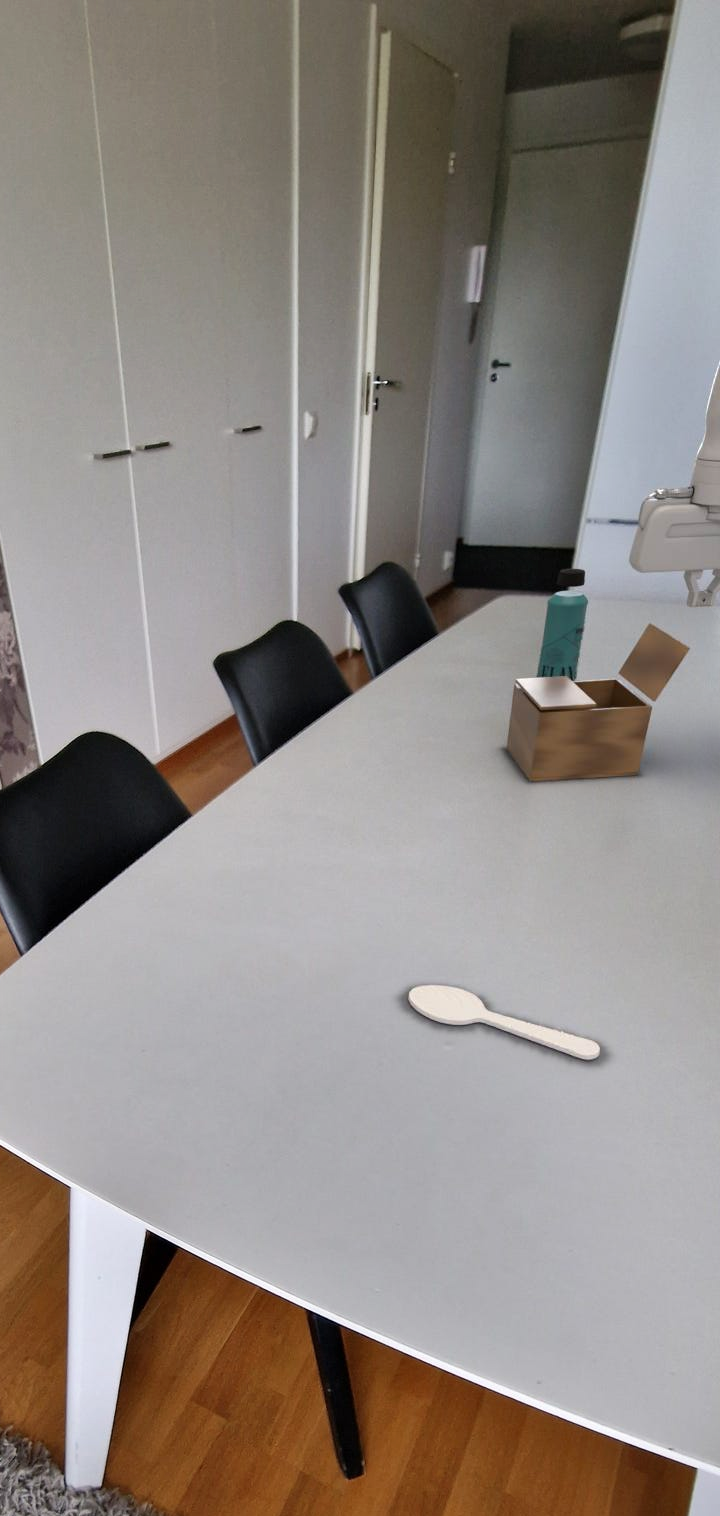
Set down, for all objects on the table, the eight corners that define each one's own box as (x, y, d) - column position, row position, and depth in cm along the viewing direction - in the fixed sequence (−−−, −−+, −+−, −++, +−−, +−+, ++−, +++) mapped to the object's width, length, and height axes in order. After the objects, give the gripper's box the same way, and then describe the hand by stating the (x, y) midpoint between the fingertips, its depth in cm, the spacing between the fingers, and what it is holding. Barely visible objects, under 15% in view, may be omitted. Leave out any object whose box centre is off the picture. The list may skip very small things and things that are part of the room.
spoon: (588, 1072, 78) (589, 1067, 77) (397, 1007, 87) (397, 1003, 86) (608, 1039, 81) (609, 1034, 81) (423, 980, 90) (423, 976, 90)
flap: (618, 673, 133) (620, 674, 133) (652, 700, 122) (655, 701, 122) (649, 622, 129) (651, 623, 129) (688, 647, 118) (690, 648, 118)
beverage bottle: (530, 703, 155) (548, 573, 143) (535, 691, 160) (553, 565, 148) (571, 706, 153) (592, 574, 141) (575, 694, 158) (596, 565, 146)
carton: (605, 743, 139) (619, 672, 133) (637, 775, 128) (653, 700, 122) (506, 748, 139) (514, 678, 133) (530, 781, 128) (540, 707, 122)
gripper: (654, 492, 111) (629, 615, 119) (824, 484, 111) (787, 607, 119) (634, 486, 116) (612, 604, 124) (797, 478, 116) (763, 596, 124)
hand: (699, 606), depth 121 cm, fingers closed
